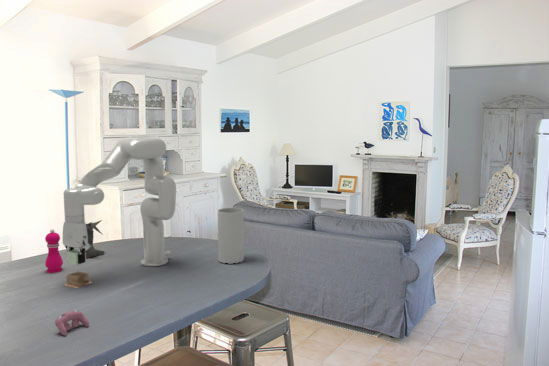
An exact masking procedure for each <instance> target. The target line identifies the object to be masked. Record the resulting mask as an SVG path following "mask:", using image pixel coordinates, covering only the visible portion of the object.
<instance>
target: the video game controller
mask: <svg viewBox="0 0 549 366" xmlns="http://www.w3.org/2000/svg"><path fill="white" fill-rule="evenodd" d="M70 321H71V323H69V322H70ZM80 323H81V324H82V325H83V326H85V327H86V328H87V327H89V326H90V322H89V320H88V319H87V317H86V316H85V314H84V313H83V312H82V311H81V310H70V311H67V312H65V313H63V314H61V315H59V316H58V317H57V318H56V319H55V321H54V324H55V327H57V329H58V331H59V333H60V334H61V335H62V336H67V334H68V331H70V330H71V327H73V328H77V327H79V326H80Z"/></svg>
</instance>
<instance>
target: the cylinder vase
mask: <svg viewBox="0 0 549 366" xmlns="http://www.w3.org/2000/svg"><path fill="white" fill-rule="evenodd" d="M244 211H245V209H243V208H241V207H224V208H220V209H219V208H218V209H217V251H218V252H217V256H218V257H217V259H218V261H219V263H221V262H222V264H225V263H228V264H227V265H232V264H233V263H236V264H240V263H242V262H243V261H244V259H245V226H244V225H245V221H244V220H245V212H244ZM239 262H240V263H239ZM233 265H234V264H233Z"/></svg>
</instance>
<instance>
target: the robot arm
mask: <svg viewBox="0 0 549 366" xmlns="http://www.w3.org/2000/svg"><path fill="white" fill-rule="evenodd" d="M166 152H167V144H166V143H165V140H163V139H161V138H158V137H157V138H155V137H139V138H136V139H121V140H120V141H118V142H117V143H116V144H115V145H114V147H113V149H112V150H111V151H110V152H109V153H108V155H107V156H106V157H105V158H104V160H103V161H102V162H101V163H100V164H99V165H97V166H95V167H94V168H93V169H91V170H89V171H88V172H87V173H86V174H85V175H84V176H82V178H81V179H80V180H79V182H77V184H76V185H75V187H73V188H72V187H71V188H66V189H65V190H64V191H63V208H64V209H63V210H64V211H63V212H64V221H63V223H62V224H63V225H62V226H63V227H62V244H63V245H64V247H65V249H66V252H67V251H71V250H74V249H78V252H79V254H78V265H81V264H84V263H86V262H85V253H86V251H87V249H89V248H90V245H89V244H88V235H87V228H86V224H87V223H86V222H85V220H86V219H85V206H96V205H99V204H101V203H103V201H104V199H105V192H104V190H103V189H101V188H100V187H97V186H98V185H101V183H103V182H105V181H107V180H111V179H113V178H115V177H118V176H120V174H121V172H122V171H123V170H124V169H125V167H126V166H127V164H129V162H130V160H138V161H139V160H143V163H144V190H145V192H146V193H147V194H149V195H152V197H146V198H144V199H143V200H142V202H141V204H140V209H139V210H140V214H141V219H142V228H143V229H142V232H143V234H142V235H143V258H142V259H141V260H140V264H141V265H142V266H145V267H160V266H163V265H166V264H168V263H169V259H168V258H167V256H169V255H171V251H170V250H167V251H165V233H164V232H165V229H164V228H165V226H164V222H163V221H169V220H171V219H172V218H173V216H174V215H175V211H176V202H177V185H176V182H175V180H174V179H173V178H172V177H171V176H168V175H164V174H165V173H164V168H165V167H164V160H163V158H162V156H164V155H165V153H166ZM153 196H158V197H153ZM81 248H82V250H81Z"/></svg>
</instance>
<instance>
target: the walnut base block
mask: <svg viewBox="0 0 549 366" xmlns="http://www.w3.org/2000/svg"><path fill="white" fill-rule="evenodd" d="M89 282H90V277H89V272H83V271H79V270H78V271H75V272H72V273H69V274H66V284H67V285H71V286H75V287H78V286H81V285H84V284H86V283H89ZM84 286H85V285H84Z"/></svg>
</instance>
